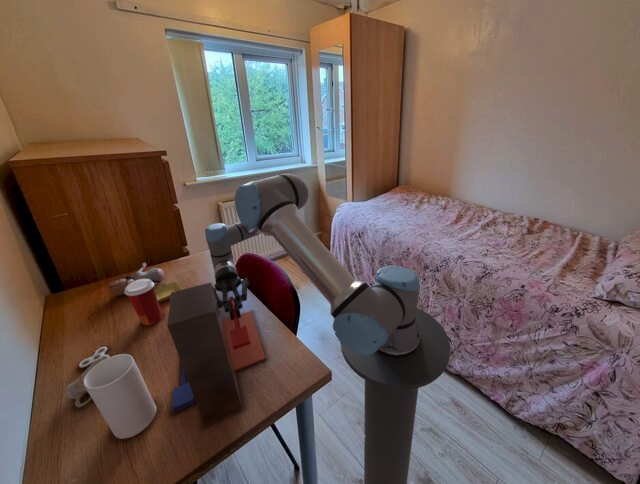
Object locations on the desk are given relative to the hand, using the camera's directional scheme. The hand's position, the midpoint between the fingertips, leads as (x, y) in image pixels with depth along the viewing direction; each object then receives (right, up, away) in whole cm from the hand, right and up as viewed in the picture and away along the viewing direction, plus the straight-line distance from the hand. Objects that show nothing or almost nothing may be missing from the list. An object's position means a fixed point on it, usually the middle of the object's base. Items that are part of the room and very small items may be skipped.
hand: (235, 315), depth 83 cm
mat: (0, -8, +2) cm, 9 cm away
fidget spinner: (-38, -11, -2) cm, 40 cm away
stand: (+2, -16, -14) cm, 21 cm away
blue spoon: (-10, -14, -8) cm, 19 cm away
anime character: (-49, +2, +28) cm, 56 cm away
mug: (-31, -15, -11) cm, 36 cm away
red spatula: (0, -2, +1) cm, 2 cm away
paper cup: (-32, -5, +12) cm, 35 cm away
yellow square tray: (-35, +1, +24) cm, 42 cm away
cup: (-15, -18, -18) cm, 30 cm away
